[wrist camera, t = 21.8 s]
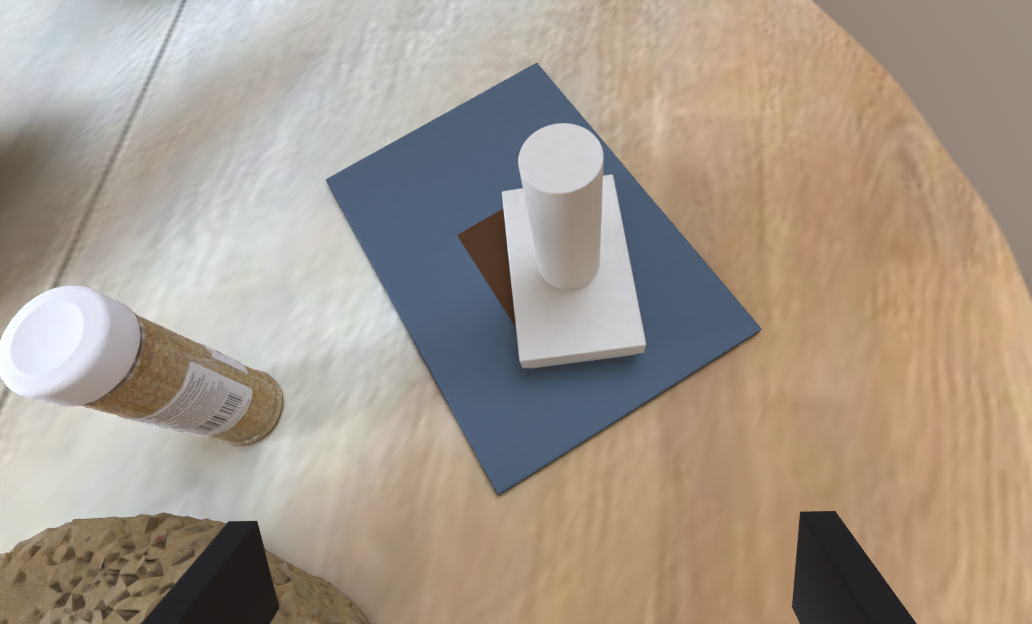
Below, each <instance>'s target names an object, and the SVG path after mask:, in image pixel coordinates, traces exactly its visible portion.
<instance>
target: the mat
mask: <svg viewBox="0 0 1032 624" xmlns="http://www.w3.org/2000/svg"><path fill="white" fill-rule="evenodd" d="M559 123H568V124H574V125H578V126H581V127H583V128H585V129H587V130H588V131H590V132H591V133H592V134H594V135H595V137H596V138H597V139H598V141H599V142H600V144H601V146H602V149H603V155H604V161H603V176H605V175H613V177H614V182H615V187H616V192H617V197H618V203H619V208H620V213H621V218H622V223H623V228H624V233H625V238H626V243H627V248H628V254H629V259H630V264H631V269H632V274H633V279H634V284H635V289H636V294H637V299H638V304H639V310H640V315H641V320H642V325H643V330H644V335H645V340H646V347H645V350H644V352H643V353H638V354H636V355H632V356H624V357H616V358H609V359H601V360H593V361H585V362H578V363H570V364H562V365H555V366H547V367H539V368H531V369H530V368H522V366H521V363H520V361H519V352H518V342H517V333H516V323H515V314H514V304H513V295H512V285H511V276H510V266H509V256H508V247H507V237H506V228H505V218H504V209H503V199H502V192H503V191H508V190H515V189H521V188H523V186H522V180H521V175H520V170H519V165H518V158H519V153H520V150H521V148H522V146H523V144H524V143H525V141H526V140H527V139H528V138H529V137H530V136H531V135H532V134H533V133H534V132H536V131H537V130H539V129H541V128H543V127H546V126H549V125H553V124H559ZM326 181H327V183H328V185H329V187H330V189H331V190H332V192H333V194H334V196H335V198H336V200H337V201H338V203H339V205H340V207H341V209H342V211H343V212H344V214H345V216H346V218H347V220H348V222H349V223H350V225H351V227H352V229H353V231H354V233H355V234H356V236H357V238H358V240H359V242H360V244H361V245H362V247H363V249H364V251H365V253H366V255H367V256H368V258H369V260H370V262H371V264H372V266H373V267H374V269H375V271H376V273H377V275H378V277H379V278H380V280H381V282H382V284H383V286H384V288H385V289H386V291H387V293H388V295H389V297H390V299H391V300H392V302H393V304H394V306H395V308H396V310H397V311H398V313H399V315H400V317H401V319H402V321H403V322H404V324H405V326H406V328H407V330H408V332H409V333H410V335H411V337H412V339H413V341H414V343H415V344H416V346H417V348H418V350H419V352H420V354H421V355H422V357H423V359H424V361H425V363H426V365H427V366H428V368H429V370H430V372H431V374H432V376H433V377H434V379H435V381H436V383H437V385H438V387H439V388H440V390H441V392H442V394H443V396H444V398H445V399H446V401H447V403H448V405H449V407H450V409H451V410H452V412H453V414H454V416H455V418H456V420H457V421H458V423H459V425H460V427H461V429H462V431H463V432H464V434H465V436H466V438H467V440H468V442H469V443H470V445H471V447H472V449H473V451H474V453H475V454H476V456H477V458H478V460H479V462H480V464H481V465H482V467H483V469H484V471H485V473H486V475H487V476H488V478H489V480H490V482H491V484H492V486H493V487H494V489H495V491H496V493H497V494H498V495H501V494H502V493H504V492H505V491H507V490H509V489H510V488H512V487H513V486H515V485H517V484H518V483H520V482H521V481H523V480H524V479H526V478H528V477H529V476H531V475H532V474H534V473H536V472H537V471H539V470H540V469H542V468H544V467H545V466H547V465H548V464H550V463H552V462H553V461H555V460H556V459H558V458H559V457H561V456H563V455H564V454H566V453H567V452H569V451H571V450H572V449H574V448H575V447H577V446H579V445H580V444H582V443H583V442H585V441H586V440H588V439H590V438H591V437H593V436H594V435H596V434H598V433H599V432H601V431H602V430H604V429H606V428H607V427H609V426H610V425H612V424H614V423H615V422H617V421H618V420H620V419H621V418H623V417H625V416H626V415H628V414H629V413H631V412H633V411H634V410H636V409H637V408H639V407H641V406H642V405H644V404H645V403H647V402H649V401H650V400H652V399H653V398H655V397H656V396H658V395H660V394H661V393H663V392H664V391H666V390H668V389H669V388H671V387H672V386H674V385H676V384H677V383H679V382H680V381H682V380H684V379H685V378H687V377H688V376H690V375H691V374H693V373H695V372H696V371H698V370H699V369H701V368H703V367H704V366H706V365H707V364H709V363H711V362H712V361H714V360H715V359H717V358H718V357H720V356H722V355H723V354H725V353H726V352H728V351H730V350H731V349H733V348H734V347H736V346H738V345H739V344H741V343H742V342H744V341H746V340H747V339H749V338H750V337H752V336H753V335H755V334H757V333H758V332H759V331H760V330H761V328H760V326H759V325H758V324H757V323H756V322H755V321H754V319H753V318H752V317H751V316H750V315H749V313H748V312H747V311H746V310H745V309H744V307H743V306H742V305H741V304H740V303H739V302H738V300H737V299H736V298H735V297H734V296H733V294H732V293H731V292H730V291H729V290H728V289H727V287H726V286H725V285H724V284H723V283H722V281H721V280H720V279H719V278H718V277H717V275H716V274H715V273H714V272H713V271H712V270H711V268H710V267H709V266H708V265H707V264H706V262H705V261H704V260H703V259H702V258H701V257H700V255H699V254H698V253H697V252H696V251H695V249H694V248H693V247H692V246H691V245H690V244H689V242H688V241H687V240H686V239H685V238H684V236H683V235H682V234H681V233H680V232H679V230H678V229H677V228H676V227H675V226H674V225H673V223H672V222H671V221H670V220H669V219H668V217H667V216H666V215H665V214H664V213H663V212H662V210H661V209H660V208H659V207H658V206H657V204H656V203H655V202H654V201H653V200H652V199H651V197H650V196H649V195H648V194H647V193H646V191H645V190H644V189H643V188H642V187H641V185H640V184H639V183H638V182H637V181H636V180H635V178H634V177H633V176H632V175H631V174H630V172H629V171H628V170H627V169H626V168H625V167H624V165H623V164H622V163H621V162H620V161H619V159H618V158H617V157H616V156H615V155H614V154H613V152H612V151H611V150H610V149H609V148H608V146H607V145H606V144H605V143H604V142H603V140H602V139H601V138H600V137H599V136H598V135H597V133H596V132H595V131H594V130H593V129H592V127H591V126H590V125H589V124H588V123H587V122H586V120H585V119H584V118H583V117H582V116H581V114H580V113H579V112H578V111H577V110H576V109H575V107H574V106H573V105H572V104H571V103H570V101H569V100H568V99H567V98H566V97H565V95H564V94H563V93H562V92H561V91H560V90H559V88H558V87H557V86H556V85H555V84H554V82H553V81H552V80H551V79H550V78H549V77H548V75H547V74H546V73H545V72H544V71H543V69H542V68H541V67H540V66H539V65H538V63H535V64H534V65H532V66H530V67H528V68H526V69H525V70H523V71H521V72H519V73H517V74H516V75H514V76H512V77H510V78H508V79H506V80H505V81H503V82H501V83H499V84H497V85H496V86H494V87H492V88H490V89H488V90H487V91H485V92H483V93H481V94H479V95H478V96H476V97H474V98H472V99H470V100H469V101H467V102H465V103H463V104H461V105H460V106H458V107H456V108H454V109H452V110H450V111H449V112H447V113H445V114H443V115H441V116H440V117H438V118H436V119H434V120H432V121H431V122H429V123H427V124H425V125H423V126H422V127H420V128H418V129H416V130H414V131H413V132H411V133H409V134H407V135H405V136H403V137H402V138H400V139H398V140H396V141H394V142H393V143H391V144H389V145H387V146H385V147H384V148H382V149H380V150H378V151H376V152H375V153H373V154H371V155H369V156H367V157H366V158H364V159H362V160H360V161H358V162H357V163H355V164H353V165H351V166H349V167H347V168H346V169H344V170H342V171H340V172H338V173H337V174H335V175H333V176H331V177H329V178H328V179H326Z"/></svg>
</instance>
